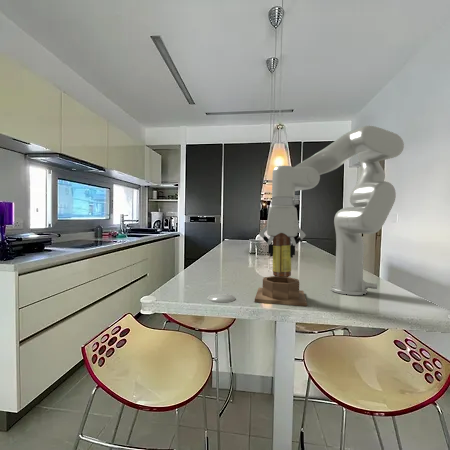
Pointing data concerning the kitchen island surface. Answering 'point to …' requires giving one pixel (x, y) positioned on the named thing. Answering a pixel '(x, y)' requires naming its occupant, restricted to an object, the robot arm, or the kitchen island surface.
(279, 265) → the sauce bottle
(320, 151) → the robot arm
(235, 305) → the kitchen island surface
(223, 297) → the coaster
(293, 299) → the holder
